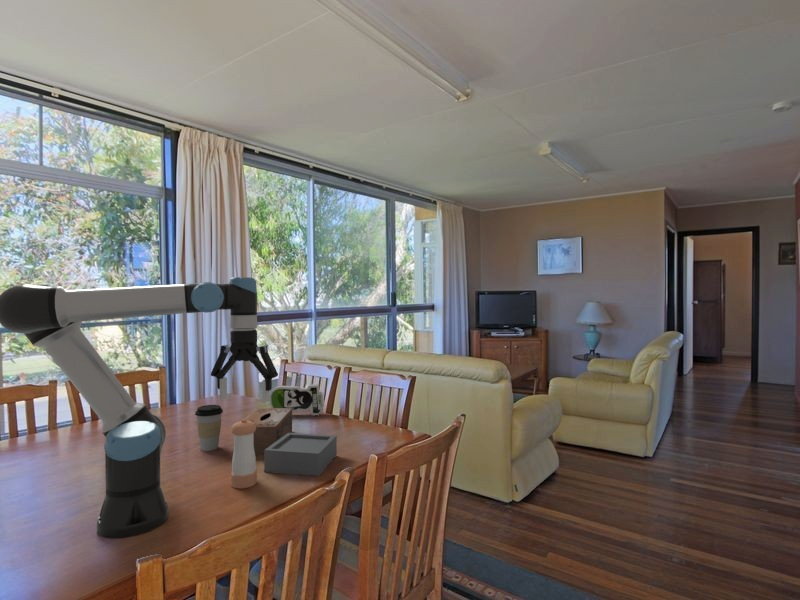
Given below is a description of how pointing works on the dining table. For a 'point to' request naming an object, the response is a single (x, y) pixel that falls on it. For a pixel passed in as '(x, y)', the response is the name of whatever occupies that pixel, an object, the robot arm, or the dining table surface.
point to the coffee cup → (209, 426)
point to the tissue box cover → (269, 426)
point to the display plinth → (300, 454)
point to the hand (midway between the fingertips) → (244, 400)
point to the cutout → (298, 398)
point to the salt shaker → (243, 455)
